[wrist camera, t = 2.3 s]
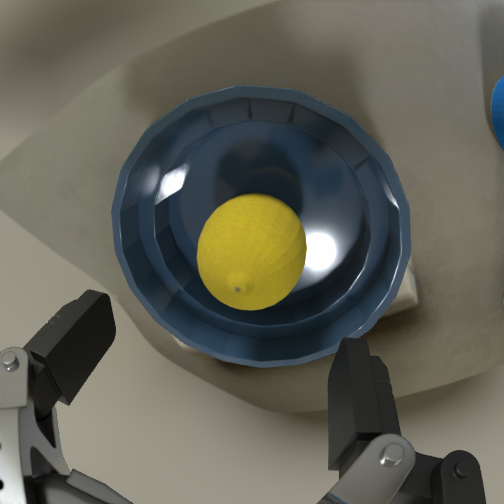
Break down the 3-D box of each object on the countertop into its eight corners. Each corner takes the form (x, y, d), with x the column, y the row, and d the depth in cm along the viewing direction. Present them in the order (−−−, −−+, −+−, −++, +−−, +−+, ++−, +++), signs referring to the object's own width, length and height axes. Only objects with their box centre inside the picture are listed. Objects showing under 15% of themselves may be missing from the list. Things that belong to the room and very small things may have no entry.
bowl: (407, 118, 16) (440, 121, 11) (354, 333, 23) (361, 379, 18) (152, 90, 17) (110, 87, 13) (155, 300, 25) (128, 338, 20)
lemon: (213, 184, 19) (160, 231, 12) (302, 176, 18) (302, 219, 11) (227, 263, 21) (191, 339, 14) (309, 259, 20) (309, 340, 13)
